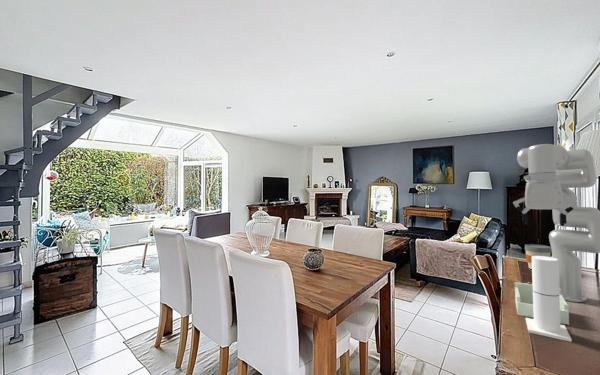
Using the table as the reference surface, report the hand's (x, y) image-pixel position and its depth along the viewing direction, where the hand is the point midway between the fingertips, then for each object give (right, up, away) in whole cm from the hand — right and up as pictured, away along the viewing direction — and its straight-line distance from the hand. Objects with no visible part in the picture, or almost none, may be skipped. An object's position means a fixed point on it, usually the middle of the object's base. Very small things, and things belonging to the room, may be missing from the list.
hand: (543, 224), depth 98 cm
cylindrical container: (0, -37, -1) cm, 37 cm away
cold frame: (+10, -38, +13) cm, 41 cm away
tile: (0, -38, -1) cm, 38 cm away
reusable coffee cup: (+60, -38, +70) cm, 100 cm away
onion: (+18, -39, +28) cm, 51 cm away
